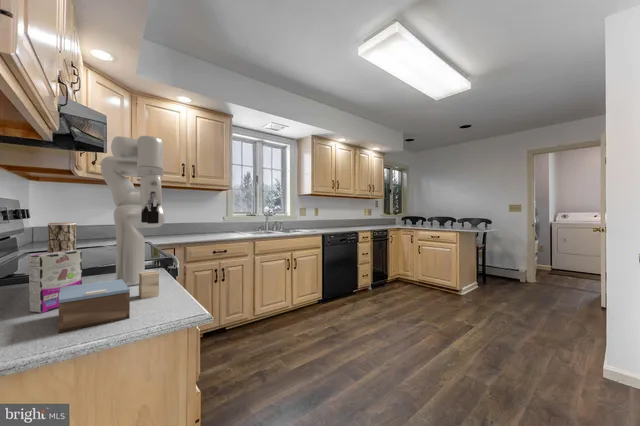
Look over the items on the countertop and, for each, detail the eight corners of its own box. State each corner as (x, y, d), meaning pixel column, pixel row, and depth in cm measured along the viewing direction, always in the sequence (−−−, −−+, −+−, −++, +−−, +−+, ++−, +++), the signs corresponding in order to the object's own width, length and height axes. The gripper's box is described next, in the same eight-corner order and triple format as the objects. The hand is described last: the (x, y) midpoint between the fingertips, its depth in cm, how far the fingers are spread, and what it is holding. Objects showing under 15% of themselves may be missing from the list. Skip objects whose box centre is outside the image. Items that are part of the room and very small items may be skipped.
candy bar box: (70, 299, 88) (70, 249, 88) (82, 301, 87) (83, 250, 87) (27, 312, 77) (27, 254, 77) (40, 313, 76) (41, 255, 76)
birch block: (138, 295, 94) (139, 272, 94) (155, 292, 97) (155, 270, 97) (141, 299, 90) (141, 275, 90) (158, 296, 93) (159, 273, 93)
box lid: (60, 290, 76) (60, 285, 76) (122, 281, 85) (122, 277, 85) (58, 303, 65) (58, 297, 65) (129, 292, 74) (129, 287, 74)
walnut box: (60, 314, 76) (60, 290, 76) (121, 303, 85) (122, 281, 85) (58, 333, 65) (58, 304, 65) (129, 318, 74) (129, 292, 74)
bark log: (54, 303, 85) (55, 223, 84) (42, 300, 87) (42, 223, 87) (80, 297, 91) (81, 222, 91) (68, 294, 93) (68, 222, 93)
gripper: (168, 171, 89) (168, 223, 90) (156, 176, 102) (156, 221, 102) (142, 169, 84) (141, 224, 84) (132, 174, 97) (132, 222, 97)
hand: (149, 222), depth 93 cm, fingers open, 9 cm apart
